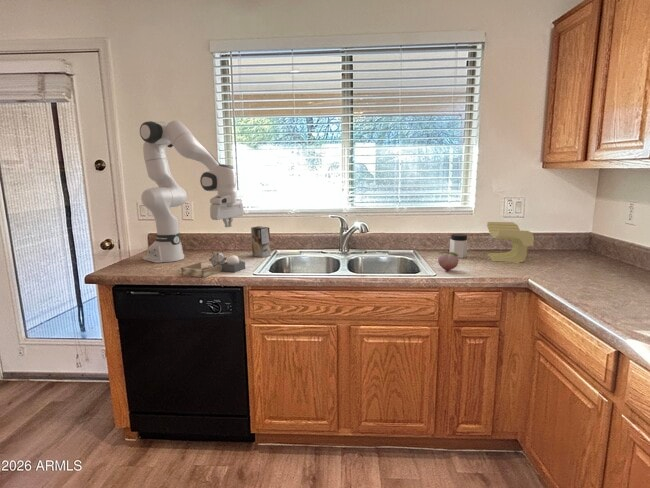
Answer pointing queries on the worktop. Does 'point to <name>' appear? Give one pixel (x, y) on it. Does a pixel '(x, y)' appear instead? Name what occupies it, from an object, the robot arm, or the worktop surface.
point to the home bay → (194, 270)
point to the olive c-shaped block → (515, 235)
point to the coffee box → (260, 241)
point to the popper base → (233, 266)
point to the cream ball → (233, 260)
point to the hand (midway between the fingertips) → (228, 227)
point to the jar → (459, 244)
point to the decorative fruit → (448, 260)
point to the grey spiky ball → (217, 258)
